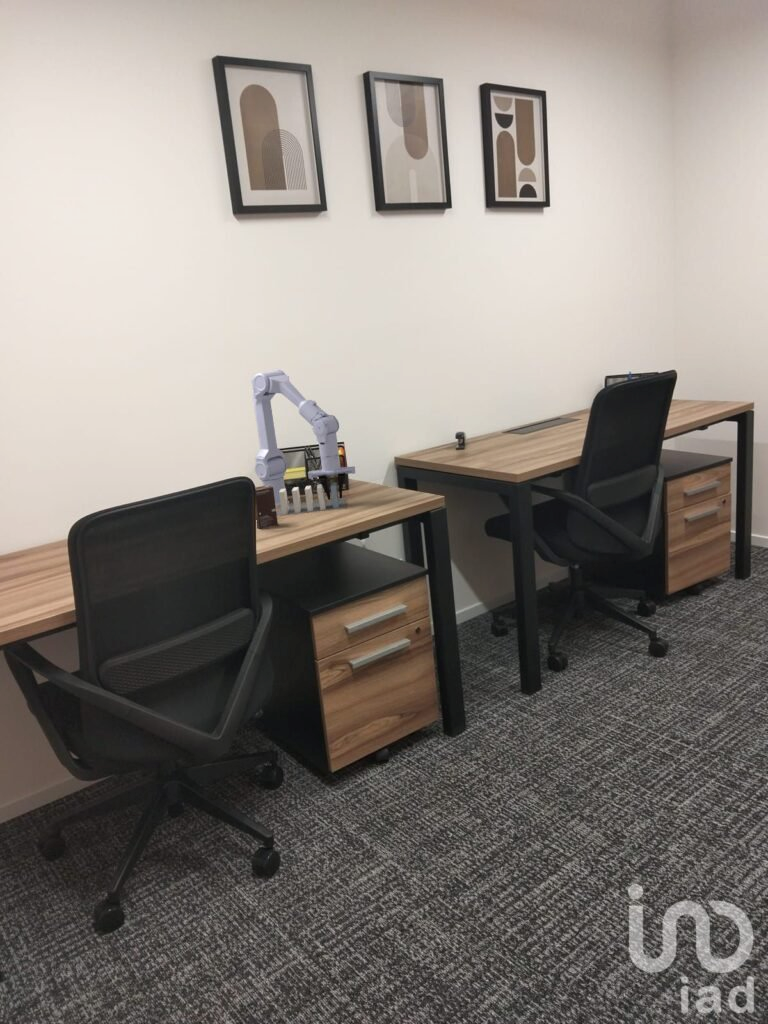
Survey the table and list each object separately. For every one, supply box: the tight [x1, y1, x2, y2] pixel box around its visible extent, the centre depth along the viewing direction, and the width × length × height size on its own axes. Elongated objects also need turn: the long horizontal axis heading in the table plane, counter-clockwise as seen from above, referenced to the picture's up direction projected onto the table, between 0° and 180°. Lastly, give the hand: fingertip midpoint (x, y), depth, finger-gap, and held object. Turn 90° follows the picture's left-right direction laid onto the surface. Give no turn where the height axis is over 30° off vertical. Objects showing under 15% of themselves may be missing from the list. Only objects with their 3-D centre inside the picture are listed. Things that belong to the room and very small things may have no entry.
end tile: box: [329, 482, 340, 508], centre depth 230 cm, size 2×5×7 cm, turn 0°
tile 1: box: [279, 487, 289, 514], centre depth 230 cm, size 2×5×7 cm, turn 1°
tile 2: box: [291, 486, 302, 513], centre depth 230 cm, size 2×5×7 cm, turn 1°
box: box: [255, 485, 279, 530], centre depth 215 cm, size 6×4×12 cm
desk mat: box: [276, 497, 348, 517], centre depth 234 cm, size 22×15×1 cm
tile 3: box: [304, 485, 314, 511], centre depth 230 cm, size 2×5×7 cm, turn 1°
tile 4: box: [316, 483, 327, 510], centre depth 230 cm, size 2×5×7 cm, turn 1°
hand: (335, 498), depth 230 cm, fingers open, 3 cm apart
